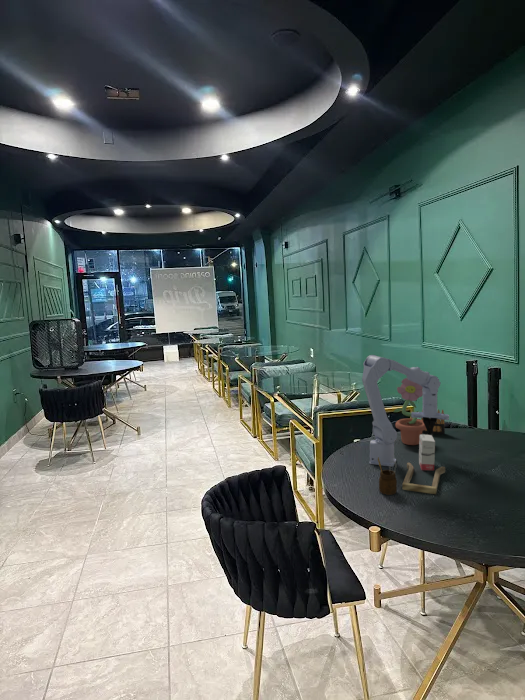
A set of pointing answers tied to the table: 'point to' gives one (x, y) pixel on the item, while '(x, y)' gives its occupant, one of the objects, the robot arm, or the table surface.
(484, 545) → the table surface
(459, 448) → the table surface
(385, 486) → the utensil holder
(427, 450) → the ink box
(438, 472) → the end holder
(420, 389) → the decorative flower
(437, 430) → the ammunition clip
